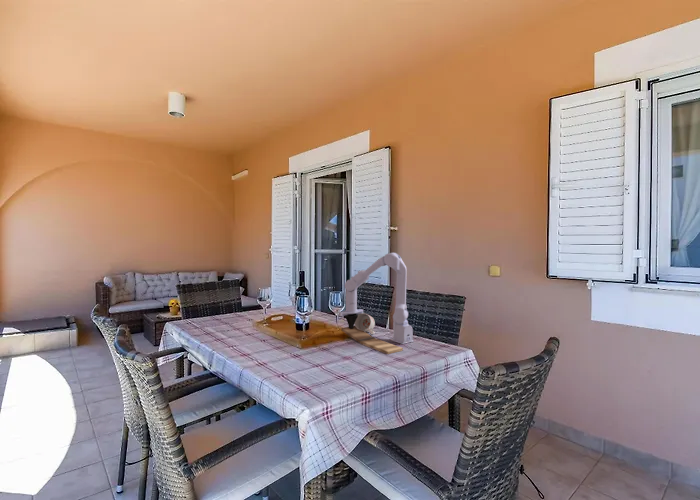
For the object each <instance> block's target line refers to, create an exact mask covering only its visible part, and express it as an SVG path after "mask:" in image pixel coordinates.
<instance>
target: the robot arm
mask: <svg viewBox="0 0 700 500" xmlns="http://www.w3.org/2000/svg"><path fill="white" fill-rule="evenodd" d="M381 267H390V268H392V269H393V271H395V272H396V285H395V286H396V287H395V288H396V291H395V294H396V295H395V307H394V313H393V315H392V320H393V325H392V327H393V328H392V329H393V330H392V331H393V332H392V333H393V334H392V335H393V336H392V337H391V338H389V340H390V341H392V342H395V343H398V344H401V345H405V344H408V343H413V342H414V340H413V338H414V337H413V336H414V335H413V333H414V329H413V327H412V325H410V324H409V321H408V317H409V311H408V309H407V308H408V306H407V277H408V276H407V275H408V274H407V273H408V270H407V269H408V267H407V266H406V264H405V262H404V261H403V259H402V257H401V256H400V254H398V253H397V252H390V253H389V252H388V253H386V254H384V255H383V256H381V257H380V258H378V259H377V260H376V261H374V263H372V264H371V265H369V267H367V269H365V270H364V269H361V270H358V271H357V272H356V274H355V275H353V276H351V277H350V279H347V280H346V282H345V283H344V289H345V310H343V311H339V312H338V317H345V319H346V321H347V325H348V326H347V327H349V328H350V329H353V327H354V326H355V321H356V319H357V317H358V314H361V313H364V309H361V308H359V309H357V308H358V288H359V287H360V286H361V285H363V284H364V283H366V281H368V280H369V279H370V275H371V274H373V273H374V272H375V271H377V270H379V268H381Z"/></svg>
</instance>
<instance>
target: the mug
mask: <svg viewBox="0 0 700 500" xmlns="http://www.w3.org/2000/svg"><path fill="white" fill-rule="evenodd" d="M357 315H358V317H357V319H356V321H355V324H354V326H356V328H357V329H359V328H360V329H361V330H362V331H364V332H366V333H370V334H371V335H375V333H376V332H375V331H374V328H375V325H376V323H375V319H374V317H372V315H370V314H367V313H366V312H363V313H359V314H357ZM360 329H359V330H360Z"/></svg>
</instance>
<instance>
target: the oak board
mask: <svg viewBox="0 0 700 500" xmlns="http://www.w3.org/2000/svg"><path fill="white" fill-rule="evenodd" d="M373 337H374V338H369V339H364V340H360V343H359V344H360V345H363V346H366V347H368V348H370V349H374V350H376V351H379V352H380V353H384V354H385V355H386V354H387V355H391V354H395V353H399V352H402V351H403V350H404V349H403V347H401V346H398V345H395V344H392V343H390V342H387V341H385V340H381V339H379V338H376V337H375V336H373Z"/></svg>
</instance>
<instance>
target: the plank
mask: <svg viewBox="0 0 700 500" xmlns="http://www.w3.org/2000/svg"><path fill="white" fill-rule="evenodd" d="M359 329H360V328H359ZM359 329H357V328H356V326H355V325H354V327H353V329H350V328H349V326H345V327H342V328H341V331H342V332H343V333H345V334H346V335H347V336H348V337H350V338H352V339H353V340H354V341H355V342H357V343H359V344H360V340H364V339H369V338H374V337H375V336H372V334H371V335H370V334H369V333H368V332H365V331H362V330H361V329H360V330H359Z"/></svg>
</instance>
